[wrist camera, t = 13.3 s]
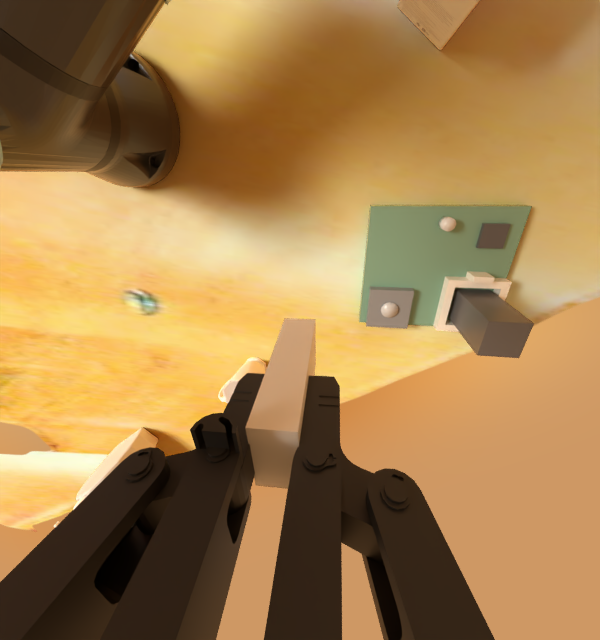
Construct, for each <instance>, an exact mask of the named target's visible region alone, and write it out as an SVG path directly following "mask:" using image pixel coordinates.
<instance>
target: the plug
mask: <svg viewBox="0 0 600 640" xmlns="http://www.w3.org/2000/svg"><path fill="white" fill-rule="evenodd" d="M448 318H449V319H450V320H451V321H452V323H453V324H454V325H455V327H456V328H457V329H458V331H459V332H460V333H461V335H462V336H463V337H464V339H465V340H466V341H467V343H468V344H469V345H470V347H471V348H472V349H473V351H474V352H475V353H476V354H477V355H481V356H497V357H512V358H519V356H520V354H521V352H522V350H523V347H524V345H525V343H526V341H527V338H528V336H529V333H530V331H531V329H532V327H533V325H534V323H533V322H531V321H530V320H529V319H527V318H526V317H525V316H523V315H522V314H521V313H520V312H518V311H517V310H516V309H514V308H513V307H512V306H510V305H509V304H508V303H506V302H505V301H504V300H502V299H501V298H500V297H499V296H497V295H496V294H495V293H493V292H492V291H491V290H479V289H455V293H454V297H453V300H452V304H451V308H450V312H449V315H448Z"/></svg>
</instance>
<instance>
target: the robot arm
mask: <svg viewBox="0 0 600 640" xmlns="http://www.w3.org/2000/svg"><path fill="white" fill-rule="evenodd" d="M170 1H171V0H0V171H65V172H87V173H89V174H91V175H94V176H96V177H98V178H101V179H103V180H105V181H108V182H110V183H113V184H116V185H119V186H124V187H145V186H150V185H153V184H155V183H157V182H159V181H161V180H162V179H163V178H164V177H165V176H166V175H167V174H168V173H169V172H170V170H171V169H172V167H173V165H174V163H175V161H176V158H177V155H178V150H179V143H180V129H179V121H178V116H177V112H176V108H175V105H174V102H173V100H172V97H171V95H170V93H169V91H168V89H167V87H166V85H165V84H164V82H163V81H162V79H161V78H160V76H159V75H158V73H157V72H156V71H155V70H154V69H153V68H152V67H151V65H150V64H149V63H147V62H146V61H145V60H144V59H143V58H142V57H140V56H139V55H138V54H136V53H134V52H133V50H134V48H135V47H136V45H137V44H138V42H139V41H140V39H141V38H142V36H143V35H144V33H145V32H146V30H147V29H148V27H149V26H150V24H151V23H152V21H153V20H154V18H155V17H156V15H157V14H158V12H159V11H160V9H161V8H162V6H163V5H164V3H166V4H167V5H168V3H169V2H170ZM315 365H316V363H315V319H286V318H285V319H284V322H283V325H282V328H281V330H280V333H279V336H278V339H277V342H276V344H275V347H274V350H273V353H272V355H271V358H270V361H269V364H268V366H267V369H266V372H265V374H258V373H247V374H246V375H245V376H243V377H242V378H241V379H240V380H239V381H238V383H237V385H236V387H235V389H234V393H233V394H232V396H231V398H230V401H229V402H228V404H227V406H226V408H225V411H224V413H216V414H211V415H208V416H205V417H203V418H202V419H200V420H199V421H197V422H196V423H195V424H194V426H193V427H192V428H191V429H190V431H191V434H192V437H193V440H194V443H195V446H196V449H195V450H192V451H189V452H185V453H181V454H176V455H171V456H166V457H165V454H164V452H163V451H161V450H160V449H159V448H152V447H149V448H144V449H141V450H138V451H136V452H134V453H132V454H131V455H129V456H128V457H127V458H126V459H124V460H123V461H122V462H121V463H120V464H119V465H118V466H117V467H116V468H115V469H114V470H113V471H112V472H111V473H110V474H109V475H108V476H107V477H106V478H105V479H104V480H103V481H102V482H101V483H100V484H99V485H98V486H97V487H96V488H95V489H94V490H93V491H92V492H91V493H90V494H89V495H88V496H87V497H86V498H85V499H84V500H83V501H82V502H81V503H80V504H79V505H78V506H77V507H76V508H75V509H74V510H73V511H72V512H71V513H70V514H69V515H68V516H67V517H66V518H65V519H64V520H63V521H62V522H61V523H60V524H59V525H58V526H56V527H55V528H54V529H53V530H52V531H51V532H50V533H49V535H47V536H46V537H45V538H44V539H43V540H42V541H41V542H40V543H39V544H38V545H37V547H35V548H34V549H33V550H32V551H31V552H30V553H29V554H28V555H27V556H26V557H25V558H24V559H23V560H22V561H21V562H20V563H19V564H18V565H17V566H16V567H15V568H14V569H13V570H12V571H11V572H10V573H9V574H8V575H7V576H6V577H5V578H4V579H3V580H2V581H1V582H0V640H216V637H217V633H218V629H219V625H220V621H221V618H222V614H223V610H224V606H225V602H226V598H227V595H228V590H229V587H230V583H231V579H232V575H233V571H234V567H235V564H236V560H237V556H238V552H239V548H240V544H241V540H242V536H243V533H244V528H245V525H246V521H247V517H248V513H249V510H250V505H251V493H250V489H251V486H252V482H253V478H255V484H256V485H259V486H268V487H278V488H287V489H288V493H287V499H286V505H285V512H284V518H283V524H282V530H281V536H280V543H279V549H278V556H277V562H276V568H275V574H274V581H273V586H272V593H271V599H270V605H269V612H268V618H267V624H266V630H265V637H264V640H342V593H341V592H342V586H341V585H342V582H341V579H342V578H341V577H342V576H341V542H342V543H343V544H345V545H347V546H349V547H351V548H353V549H354V550H356V551H358V552H360V553H362V556H363V561H364V564H365V568H366V572H367V576H368V580H369V584H370V588H371V592H372V595H373V599H374V603H375V607H376V611H377V615H378V619H379V623H380V627H381V631H382V634H383V638H384V640H495V639H494V637H493V635H492V633H491V631H490V629H489V627H488V626H487V623H486V621H485V619H484V617H483V615H482V613H481V611H480V609H479V607H478V605H477V603H476V601H475V599H474V597H473V595H472V593H471V591H470V589H469V587H468V585H467V583H466V580H465V578H464V576H463V574H462V572H461V571H460V569H459V566H458V564H457V562H456V560H455V558H454V556H453V554H452V552H451V550H450V548H449V546H448V544H447V542H446V540H445V538H444V536H443V534H442V532H441V530H440V528H439V526H438V524H437V522H436V520H435V518H434V516H433V514H432V512H431V510H430V508H429V506H428V504H427V502H426V500H425V498H424V496H423V494H422V492H421V490H420V488H419V487H418V486H417V484H416V483H415V481H414V480H413V479H411V478H410V477H409V476H408V475H406V474H405V473H403V472H400V471H398V470H395V469H382V470H379V471H377V472H375V473H371V472H369V471H367V470H364V469H362V468H360V467H358V466H356V465H354V464H353V463H351V462H350V461H349V460H348V459H347V458H346V456H345V455H344V454H343V452H342V449H341V446H340V388H339V385H338V383H337V381H336V379H335V378H334V377H327V376H314V373H315Z"/></svg>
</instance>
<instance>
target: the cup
mask: <svg viewBox="0 0 600 640" xmlns="http://www.w3.org/2000/svg"><path fill="white" fill-rule="evenodd" d="M266 369H267V367H266V363H265V362H264V361H263V360H261V359H260V358H258V357H255V358H249V359H248V360H247V361H246V362H245V363H244V364H243V365H242V366H241V367H240V369H239V370H238V371H237V372H236V373H235V374H234V376H233V377H232V378H231V379H230V380H229V381H227V382H226V383H225V384H224V385H223V387H222V388H221V390H220V392H219V395H218V397H219V399H220V400H221V401H222V402H224V401H226V403H228V402H229V401H230V398H231V396H232V394H233V393H234V389H235V387H236V385H237V383H238V381H239V380H240V379H241V378H242V377H243V376H245V375H246V374H247V373H258V374H265V372H266ZM223 395H224V397H222V396H223Z"/></svg>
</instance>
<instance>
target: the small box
mask: <svg viewBox="0 0 600 640" xmlns="http://www.w3.org/2000/svg"><path fill="white" fill-rule="evenodd" d="M479 2H480V0H399V3H398V5H397V6H398V8H399V9H400V10H401V11H402V12H403V13H404V14H405V15H406V16H407V17H408V18H409V20H410V21H411V22H412V23H413V24H414V25H415V26H416V27H417V28H418V29H419V30H420V31H421V32H422V33H423V34H424V35H425V36H426V37H427V38H428V39H429V40H430V41H431V42H432V43H433V44H434V45H435V46H436V47H437V48H438V49H439V50H442V49H443V47H444V46H445V45H446V44H447V42H448V41H449V40H450V39H451V37H452V36H453V35H454V33H455V32H456V31H457V29H458V28H459V27H460V26H461V24H462V23H463V22H464V21H465V19H466V18H467V17H468V16H469V14H470V13H471V12H472V10H473V9H474V8H475V7H476V5H477V4H478V3H479Z"/></svg>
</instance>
